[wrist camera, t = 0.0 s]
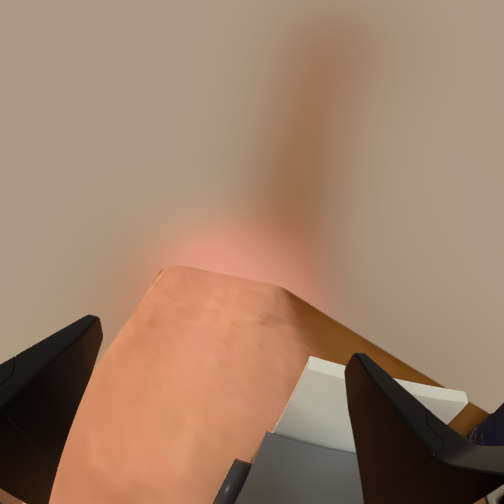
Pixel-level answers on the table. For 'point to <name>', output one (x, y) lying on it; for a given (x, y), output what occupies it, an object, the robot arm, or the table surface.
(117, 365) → the table surface
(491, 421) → the storage jar
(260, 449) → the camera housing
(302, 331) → the table surface
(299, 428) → the door
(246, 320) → the table surface
